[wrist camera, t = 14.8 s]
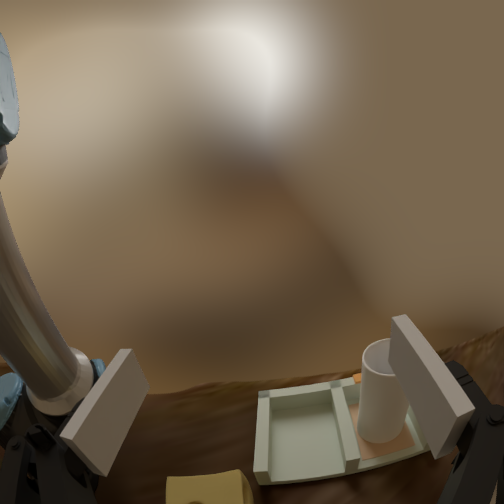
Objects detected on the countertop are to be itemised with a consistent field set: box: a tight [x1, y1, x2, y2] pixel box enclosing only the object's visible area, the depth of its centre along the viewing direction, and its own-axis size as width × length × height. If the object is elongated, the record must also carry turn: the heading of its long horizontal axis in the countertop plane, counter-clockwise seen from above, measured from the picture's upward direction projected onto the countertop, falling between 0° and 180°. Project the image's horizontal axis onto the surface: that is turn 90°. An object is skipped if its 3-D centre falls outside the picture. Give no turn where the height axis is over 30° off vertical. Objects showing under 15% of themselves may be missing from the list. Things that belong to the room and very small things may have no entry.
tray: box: [253, 373, 430, 485], centre depth 38 cm, size 18×28×6 cm, turn 86°
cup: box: [357, 339, 409, 443], centre depth 35 cm, size 8×8×16 cm
